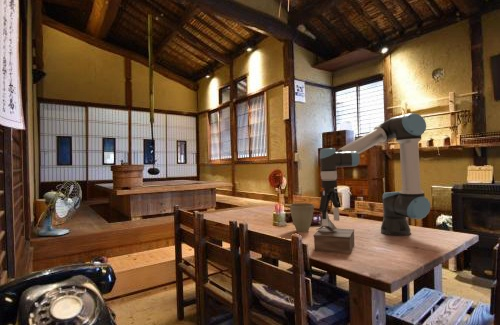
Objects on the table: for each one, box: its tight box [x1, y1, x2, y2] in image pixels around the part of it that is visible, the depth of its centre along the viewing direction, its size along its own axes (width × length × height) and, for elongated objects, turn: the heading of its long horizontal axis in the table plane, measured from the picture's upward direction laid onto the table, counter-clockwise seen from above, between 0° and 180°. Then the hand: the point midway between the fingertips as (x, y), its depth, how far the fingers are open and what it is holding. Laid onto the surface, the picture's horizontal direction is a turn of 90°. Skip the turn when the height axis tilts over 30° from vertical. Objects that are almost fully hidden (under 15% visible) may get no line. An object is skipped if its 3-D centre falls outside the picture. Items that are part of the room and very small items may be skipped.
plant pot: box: [289, 202, 315, 233], centre depth 181 cm, size 15×15×16 cm
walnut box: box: [312, 227, 355, 255], centre depth 143 cm, size 16×16×8 cm
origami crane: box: [315, 215, 337, 233], centre depth 145 cm, size 11×10×10 cm
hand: (331, 223), depth 144 cm, fingers open, 13 cm apart
